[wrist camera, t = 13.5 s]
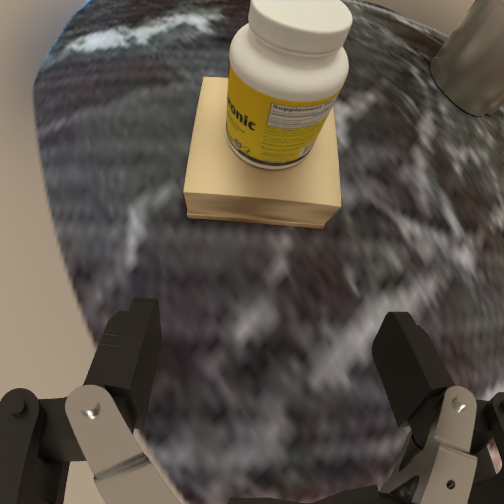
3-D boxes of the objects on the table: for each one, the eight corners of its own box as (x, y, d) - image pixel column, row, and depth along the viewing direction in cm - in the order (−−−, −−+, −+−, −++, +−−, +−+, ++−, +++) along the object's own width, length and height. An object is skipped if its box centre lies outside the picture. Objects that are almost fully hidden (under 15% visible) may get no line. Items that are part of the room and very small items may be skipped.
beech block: (317, 122, 24) (332, 91, 20) (322, 229, 22) (342, 208, 18) (203, 109, 23) (202, 75, 19) (187, 217, 21) (181, 193, 17)
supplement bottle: (220, 105, 19) (226, -27, 9) (301, 101, 20) (344, -17, 10) (230, 177, 18) (244, 39, 8) (321, 169, 18) (393, 52, 9)
